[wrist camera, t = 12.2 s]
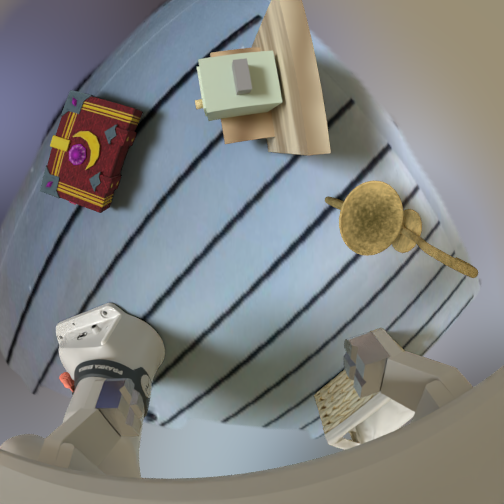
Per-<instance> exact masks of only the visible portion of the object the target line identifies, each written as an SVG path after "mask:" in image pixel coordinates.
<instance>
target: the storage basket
mask: <svg viewBox="0 0 504 504" xmlns="http://www.w3.org/2000/svg"><path fill="white" fill-rule="evenodd" d="M390 337H391V336H390ZM391 338H392V337H391ZM393 341H394V342H395V343H396V341H395V340H393ZM396 344H397V343H396ZM397 345H398V347H399V348H400V349H401V350H402V351H403V352H405V350H404V349H403V348H402V347H401V346H400V345H399V344H397ZM353 385H354V380H352V379H349V377H348V375H347V373H346V371H345V369H344V370H343V371H342V372H340V373H339V375H337V376H336V377H335V378H334V379H332V380H331V381H330V382H329V383H328V384H327V385H325V386H324V387H322V388H321V389H320V390H319V391H318V392H317V393H315V395H314V398H315V401H316V404H317V408H318V410H319V414H320V418H321V421H322V425H323V426H324V427H323V430H324V433H325V438H326V440H327V442H328V444H329V445H332V446H334V447H338V448H341V449H345V450H346V449H349V448H352V447H355V446H357V445H360V444H363V443H366V442H368V441H371V440H373V439H376V438H378V437H381V436H383V435H386V434H388V433H390V432H393V431H395V430H397V429H399V428H400V427H401V426H402V425H404V424H405V423H406V422H407V421H409V420H410V419H411V418H412V417H413V416H414V414H415V412H414V411H412V410H410V409H408V408H406V407H405V406H403V405H401V404H399V403H398V402H396V401H394V400H392V399H391V398H389V397H387V396H385V395H384V394H382V393H380V392H377V393H374V394H372V395H369V396H366V397H363V398H360V397H359V396H358V394H357V392H356V390H355V388H354V387H353ZM347 432H349V433H350V435H351V438H352V440H353V441H352V440H347V439H345V438H343V437H342V436H344V435H345V434H346V433H347Z"/></svg>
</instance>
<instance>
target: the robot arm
mask: <svg viewBox="0 0 504 504" xmlns="http://www.w3.org/2000/svg"><path fill="white" fill-rule="evenodd" d="M104 311H106V312H107V313H105V312H104ZM56 334H57V339H58V342H59V344H60V346H59V356H60V359H61V362H62V364H63V366H64V368H65V369H66V371H67V372H64V373H63V374H61V376H60V377H59V379H60V381H61V382H62V383H63V384H64V386H65V387H66V388H70V389H71V391H72V394H73V396H72V399H71V401H70V404H69V406H68V409H67V411H66V414H65V416H64V419H63V424H62V425H61V426H59V427H58V428H57V429H56V430H55V431H54V432H53V433H52V434H50V435H49V436H48V437H47V438H42V437H40V436H38V435H34V434H24V435H18V436H15V437H12V438H10V439H8V440H7V441H5V442H4V443H3V444H2V445H1V446H0V504H504V366H502V367H501V368H500V369H499V370H497V371H496V372H495V373H493V374H492V375H491V376H489V377H488V378H486V379H485V380H483V381H482V382H481V383H479V384H478V385H476V386H475V387H473V386H471V384H470V383H469V382H468V381H467V380H466V378H465V377H464V376H463V375H462V374H461V373H460V372H459V371H458V369H457V368H455V367H451V366H449V365H446V364H443V363H440V362H437V361H434V360H431V359H428V358H425V357H422V356H419V355H416V354H414V353H411V352H408V351H405V352H403V351H402V350H401V349H400V348H399V347H398V345H397V344H396V343H395V342H394V341H393V339H392V338H391V337H390V336H389V335H388V334H387V332H386V331H385V330H384V329H383V328H379V329H376V330H373V331H370V332H367V333H364V334H361V335H358V336H355V337H351V338H348V339H346V340H345V343H344V348H345V349H346V351H347V352H346V354H345V355H344V367H345V371H346V373H347V375H348V377H349V379H352V380H354V385H353V387H354V388H355V390H356V392H357V394H358V396H359V397H360V398H363V397H366V396H369V395H372V394H374V393H377V392H380V393H382V394H384V395H385V396H387V397H389V398H391V399H392V400H394V401H396V402H398V403H399V404H401V405H403V406H405V407H406V408H408V409H410V410H412V411H414V412H415V414H414V416H413V419H412V421H411V423H410V424H408V425H406V426H404V427H402V428H399V429H397V430H395V431H393V432H390V433H388V434H386V435H383V436H381V437H378V438H376V439H373V440H371V441H368V442H366V443H363V444H360V445H357V446H355V447H352V448H349V449H346V450H343V451H340V452H337V453H334V454H330V455H327V456H324V457H320V458H316V459H313V460H309V461H305V462H301V463H297V464H293V465H289V466H284V467H279V468H274V469H268V470H263V471H257V472H251V473H245V474H237V475H228V476H218V477H206V478H182V479H156V478H141V475H140V467H139V446H140V439H141V431H142V425H143V418H144V417H145V416H146V414H147V411H148V407H149V402H150V396H151V388H152V381H153V378H154V376H155V373H156V372H157V370H158V368H159V366H160V365H161V364H162V362H163V360H164V357H165V347H164V344H163V341H162V339H161V337H160V336H159V335H158V333H157V332H156V331H155V330H154V329H153V328H152V327H151V326H150V325H148V324H147V323H146V322H144V321H142V320H140V319H138V318H136V317H133V316H131V315H128V314H126V313H125V312H123V311H122V310H121V309H120V308H119V307H117V306H116V305H115V304H113V303H107V304H104V305H102V306H99V307H97V308H94V309H92V310H89V311H86V312H84V313H81V314H79V315H76V316H74V317H71V318H69V319H66V320H64V321H61V322H59V323H58V324H57V326H56Z"/></svg>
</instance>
